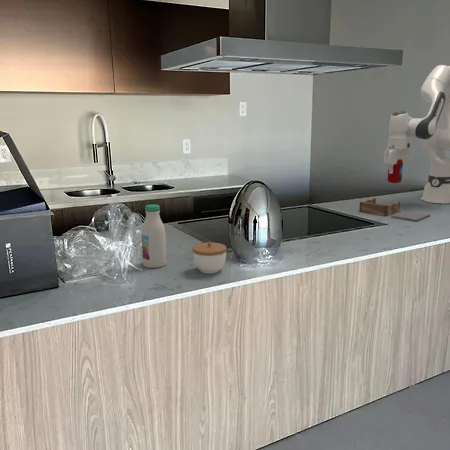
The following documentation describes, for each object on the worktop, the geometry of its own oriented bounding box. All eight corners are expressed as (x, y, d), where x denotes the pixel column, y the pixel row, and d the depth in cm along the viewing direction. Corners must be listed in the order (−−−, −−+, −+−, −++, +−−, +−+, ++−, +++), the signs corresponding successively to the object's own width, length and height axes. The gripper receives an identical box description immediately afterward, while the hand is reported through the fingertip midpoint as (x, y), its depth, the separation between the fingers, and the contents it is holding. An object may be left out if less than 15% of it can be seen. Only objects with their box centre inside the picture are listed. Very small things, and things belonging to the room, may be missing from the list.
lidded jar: (187, 268, 150) (186, 240, 147) (216, 263, 155) (215, 235, 153) (202, 278, 141) (202, 249, 138) (232, 272, 146) (232, 243, 144)
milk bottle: (167, 260, 157) (165, 202, 152) (165, 268, 150) (163, 207, 145) (144, 261, 157) (141, 203, 152) (141, 268, 149) (138, 208, 145)
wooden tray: (373, 207, 240) (374, 198, 239) (399, 211, 230) (400, 201, 229) (359, 211, 230) (360, 202, 229) (385, 216, 221) (386, 206, 219)
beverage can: (403, 183, 233) (405, 159, 230) (389, 183, 233) (391, 159, 230) (398, 181, 239) (400, 158, 236) (385, 181, 240) (387, 158, 237)
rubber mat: (405, 212, 228) (405, 210, 228) (429, 216, 220) (430, 214, 220) (391, 217, 218) (391, 215, 218) (416, 221, 210) (416, 219, 210)
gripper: (393, 146, 222) (391, 175, 226) (412, 143, 236) (409, 171, 240) (381, 146, 227) (379, 174, 230) (400, 143, 240) (398, 169, 244)
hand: (395, 172), depth 235 cm, fingers closed on beverage can, 7 cm apart
